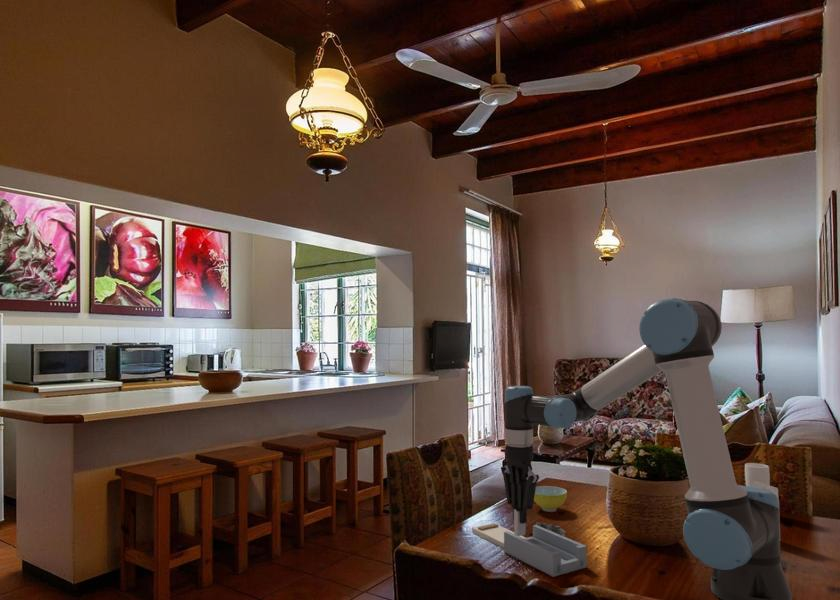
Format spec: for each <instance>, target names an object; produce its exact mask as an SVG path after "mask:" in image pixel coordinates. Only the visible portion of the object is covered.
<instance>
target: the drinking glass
mask: <svg viewBox="0 0 840 600" xmlns="http://www.w3.org/2000/svg"><path fill="white" fill-rule="evenodd" d="M770 475H771V474H770V465H767V464H763V463H758V462H747V463H744V479H745V486H749V487H753V481H755V482H758V483H762V484H765V485H769V486H771V485H770V483H771V482H770V481H771V480H770V479H771V478H770V477H771V476H770ZM761 489H764V490H768V489H766V488H761ZM768 491H770V490H768Z"/></svg>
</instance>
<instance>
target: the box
mask: <svg viewBox="0 0 840 600" xmlns="http://www.w3.org/2000/svg"><path fill="white" fill-rule="evenodd" d="M564 536H565V535H564ZM564 536H561V535H559V534H557V533H554V532H552V531H549V530H547V529H545V528H542V527H540V526H537V525H536V524H534V525H532V536H529V537H525V538H521V537H519V536H517V535H515V534H513V533H510V532H508V531H506V532H504V548H503V549H504V550H503V552H504V553H506V554H508V555H510V556H512V557H513V558H516V559H518V560H520V561H522V562H524V563H525V564H527V565H530V567H531V566H532V567H533V568H534V569H536V570H539V571H541V572H543V573H545V574H546V575H549V576H550V577H552V578H553V577H557V576H561V575H564V574H569V573H571V572H575V571H578V570H583V569H585V568H587V567H588V558H587V557H588V555H587V554H588V553H587V552H588V551H587V545H585V544H583V543H581V542H579V541H576V540H573V539H571V538H568V537H566V536H565V537H564Z"/></svg>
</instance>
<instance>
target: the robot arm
mask: <svg viewBox="0 0 840 600" xmlns="http://www.w3.org/2000/svg"><path fill="white" fill-rule="evenodd" d="M638 327H639V337H640V339H641V341H642V343H643V344H642V346H640V347H638V348H637V349H635V350H634V351H632V352H631V353H629V354H628V355H626V356H625V357H624V358H622V359H620V360H619V361H618V362H616V363H615V364H614V365H613V364H612V366H610V367H608V369H606V370H605V371H603V372H601V373H600V374H598V375H597V376H596V377H594V378H593V379H591V380H590V381H588V382H587V383H585V384H583V385H582V386H580V387H579V388H578V389H577V390H575V391H573V392H571V393H569V394H560V395H554V396H553V395H551V396H549V395H548V396H546V395H535V394H534V392H533V391H534V389H533V387H531V386H528V385H509V386H507V387H506V388H505V390H504V402H503V404H504V406H503V407H504V443H505V446H504V458H505V459H506V465H504V466H501V467H500V471H501V474H502V476H503V482H504V489H505V496H506V502H507V504H508V505H510V506H511V508H512V518H513V532H514V534H515V535H517V536H525V535H527V533H526V532H527V530H526V528H527V527H526V526H527V525H526V524H527V521H528V518H527V514H528V513H527V512H528V511H529V510H532V509H533V508H534V503H535V501H534V496H535V489H536V487H537V484H538V481H539V480H540V476H539V475H538V474H535V473H534V472H533V467H532V461H533V460H534V446H533V444H534V425H538V426H543V427H544V426H545V427H550V428H554V429H559V428H560V429H568V428H571V427H572V425H574V423H579V422H586V421H587V422H588V421H589V420H591V419H593V418H595V417H596V416H597V415H598V413H599V411H600V410H602V409H603V408H605V407H607V406H609V405H610V404H612V403H614V402H615V401H617V400H619V398H621V397H623V396H625V395H626V394H628V393H630V392H631V391H633V390H634V389H636V388H637V387H639V386H641V385H642V384H644V383H645V382H647V381H648V380H650V379H651V378H653V377H655V376H656V375H658V374H660V373H662V372H664V374H665V379H666V382H667V388H668V391H669V392H668V393H669V396H670V397H669V398H670V401H671V406H672V410H673V415H674V418H675V420H674V421H675V422H676V429H677V433H678V437H679V442H680V447H681V451H682V454H683V455H682V456H683V459H684V464H685V469H686V473H687V478H688V483H689V489H688V490H687V491H686V493H685V494H684V500H685V506H686V509H687V513H688V514H687V516H686V518H685V520H684V522H683V526H682V534H683V535H682V536H683V539H684V542H685V544H686V546H687V548H688V549H689V550H690V552H691V554H692V555H694V557H696V558H697V559H698V560H700V561H701V563H703V564H705V565H707V566H708V567H711V568H713V571H712V574H711V577H710V590H711V592H712V594H713V595H714V596H715V595H716V596H715V597H717V598H718V599H719V598H720V599H719V600H721V599H722V600H793V598H792V597H793V596H792V595H793V594H792V590H791V588H790V586H789V582H788V580H787V578H786V575H785V572H784V570H783V567H782V564H781V561H782V560H781V543H780V541H781V529H780V530H779V515H780V504H779V505H778V500H779V497H778V498H777V496H776V495H775V494H774V493H773V492H771V491H770V490H769V491H768V490H764V489H760V488H755V487H749V486H746V485H743V484H741V485H740V484H738V483H737V479H736V477H735V473H734V468H733V463H732V460H731V455H730V452H729V447H728V442H727V438H726V434H725V431H724V426H723V423H722V419H721V418H722V417H721V414H720V409H719V405H718V401H717V397H716V392H715V389H714V384H713V381H712V375H711V373H710V372H711V371H710V368H709V366H710V364H711V362H712V361H713V360H714V358H715V353H714V350H713V346H715V344H716V343H717V342H718V340H719V339H720V337H721V333H722V329H723V328H722V320H721V318H720V315H719V314H718V312H717V311H716V309H714V308H713V307H712V306H711V305H709V304H708V303H704V302H702V301H697V300H688V299H687V300H686V299H682V298H681V299H680V298H668V299H666V298H665V299H661V300H658V301H656V302H653V303H652V304H651V305H649V306H648V308H646V310H645V311H644V312H643V314H642V316H641V318H640V321H639V325H638Z"/></svg>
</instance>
